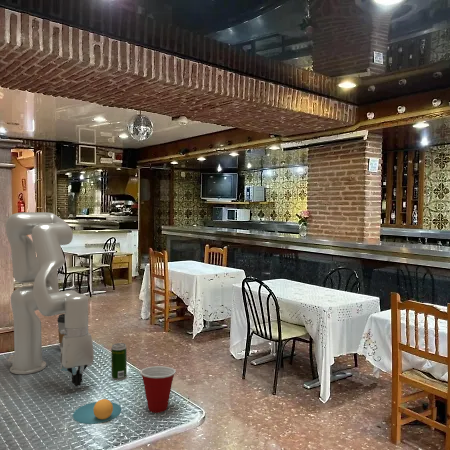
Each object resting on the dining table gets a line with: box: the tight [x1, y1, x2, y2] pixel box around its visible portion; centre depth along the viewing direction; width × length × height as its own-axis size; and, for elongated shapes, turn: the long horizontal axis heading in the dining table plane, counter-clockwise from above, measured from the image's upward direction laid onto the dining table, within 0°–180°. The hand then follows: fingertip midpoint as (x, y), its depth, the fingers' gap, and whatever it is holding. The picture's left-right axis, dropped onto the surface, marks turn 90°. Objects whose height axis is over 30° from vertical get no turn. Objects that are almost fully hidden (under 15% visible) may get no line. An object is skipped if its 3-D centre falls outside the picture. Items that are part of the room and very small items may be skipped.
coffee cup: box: [57, 313, 65, 350], centre depth 188 cm, size 8×8×15 cm
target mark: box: [72, 401, 122, 425], centre depth 130 cm, size 14×14×1 cm
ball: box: [93, 398, 113, 420], centre depth 126 cm, size 6×6×6 cm
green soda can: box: [110, 342, 128, 381], centre depth 157 cm, size 5×5×12 cm
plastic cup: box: [140, 365, 177, 414], centre depth 133 cm, size 11×11×12 cm
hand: (76, 384), depth 146 cm, fingers closed
